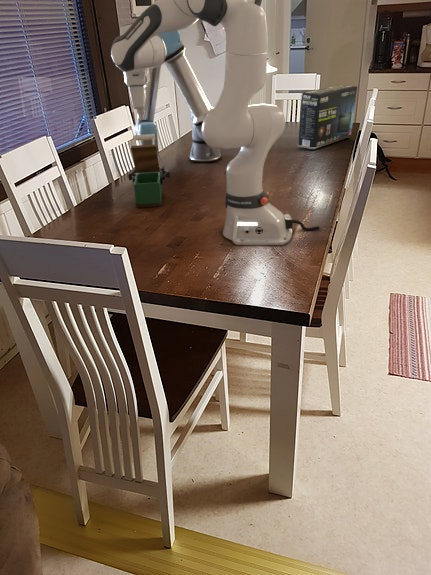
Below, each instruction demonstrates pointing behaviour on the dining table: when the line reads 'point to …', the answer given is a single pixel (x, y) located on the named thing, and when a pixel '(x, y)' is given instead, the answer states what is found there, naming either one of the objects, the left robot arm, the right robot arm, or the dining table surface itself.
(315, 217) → the dining table surface
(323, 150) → the dining table surface
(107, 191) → the dining table surface
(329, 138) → the router box
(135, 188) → the green box
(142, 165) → the lid
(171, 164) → the dining table surface
